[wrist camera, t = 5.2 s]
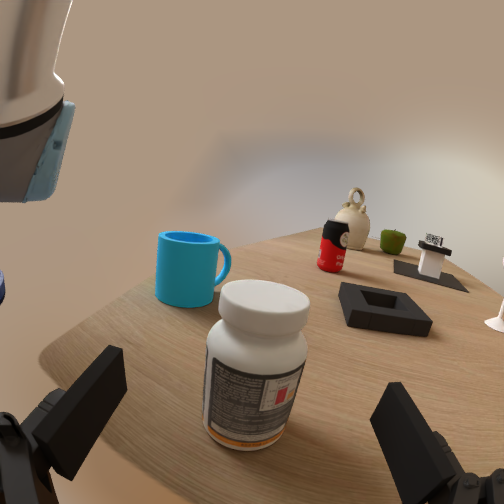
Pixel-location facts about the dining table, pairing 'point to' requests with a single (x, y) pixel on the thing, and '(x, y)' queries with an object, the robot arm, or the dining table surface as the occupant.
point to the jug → (355, 220)
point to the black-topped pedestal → (430, 265)
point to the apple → (392, 241)
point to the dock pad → (382, 310)
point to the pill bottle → (254, 363)
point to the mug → (188, 268)
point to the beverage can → (333, 245)
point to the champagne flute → (497, 318)
